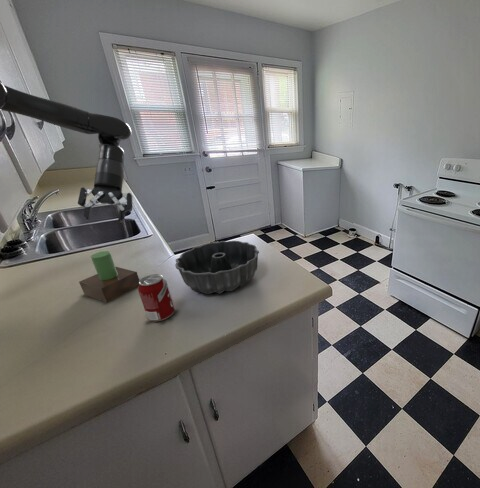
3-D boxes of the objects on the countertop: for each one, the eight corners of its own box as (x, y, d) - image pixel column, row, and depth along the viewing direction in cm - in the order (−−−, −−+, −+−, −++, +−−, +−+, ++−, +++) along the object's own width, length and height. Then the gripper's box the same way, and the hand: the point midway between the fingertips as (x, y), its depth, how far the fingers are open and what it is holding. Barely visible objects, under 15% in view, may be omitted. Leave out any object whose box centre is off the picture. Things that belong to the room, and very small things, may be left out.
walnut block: (106, 302, 83) (101, 288, 81) (84, 295, 87) (78, 281, 85) (140, 284, 92) (136, 271, 90) (119, 278, 96) (114, 266, 94)
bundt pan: (208, 260, 109) (204, 237, 105) (271, 265, 105) (269, 241, 101) (163, 298, 85) (155, 270, 81) (242, 306, 81) (238, 277, 77)
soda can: (158, 326, 73) (146, 288, 68) (142, 319, 76) (130, 282, 71) (180, 311, 79) (170, 276, 74) (164, 306, 81) (154, 271, 76)
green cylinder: (105, 281, 85) (97, 258, 82) (96, 278, 86) (87, 256, 83) (121, 274, 89) (113, 252, 86) (111, 271, 90) (103, 250, 87)
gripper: (79, 167, 87) (72, 216, 84) (132, 174, 93) (128, 220, 91) (86, 175, 94) (81, 221, 91) (136, 182, 100) (132, 224, 97)
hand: (104, 220), depth 91 cm, fingers open, 8 cm apart
